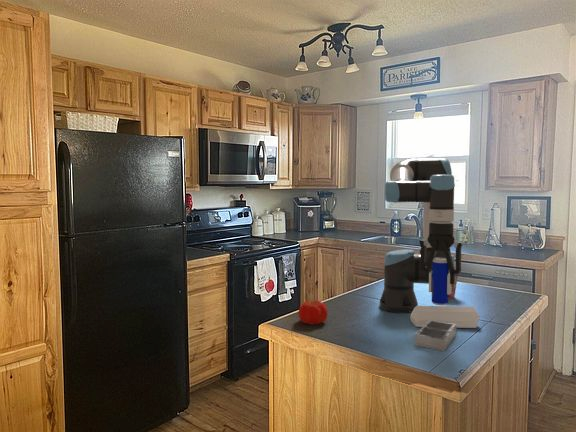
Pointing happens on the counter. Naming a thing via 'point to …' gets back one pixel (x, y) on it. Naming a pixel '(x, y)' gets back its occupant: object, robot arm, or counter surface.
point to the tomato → (313, 312)
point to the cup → (453, 287)
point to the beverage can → (439, 281)
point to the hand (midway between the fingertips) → (439, 292)
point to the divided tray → (435, 335)
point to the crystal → (445, 315)
